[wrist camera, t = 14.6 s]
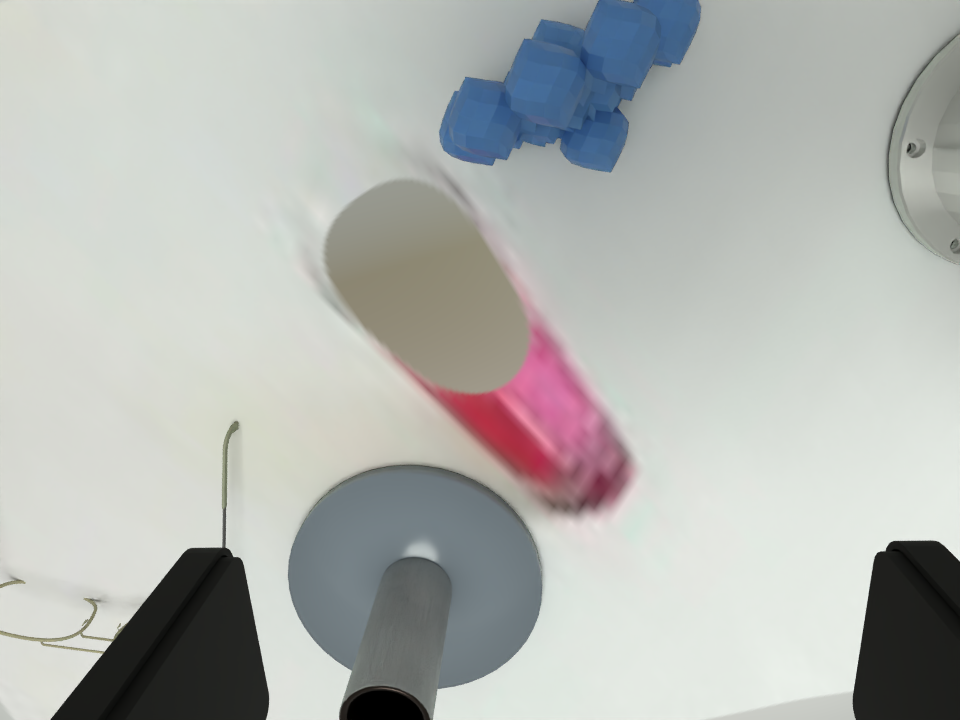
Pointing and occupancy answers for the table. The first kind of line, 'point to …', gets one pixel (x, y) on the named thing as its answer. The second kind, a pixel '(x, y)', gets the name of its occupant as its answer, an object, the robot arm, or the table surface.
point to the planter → (401, 646)
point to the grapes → (570, 85)
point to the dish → (427, 535)
